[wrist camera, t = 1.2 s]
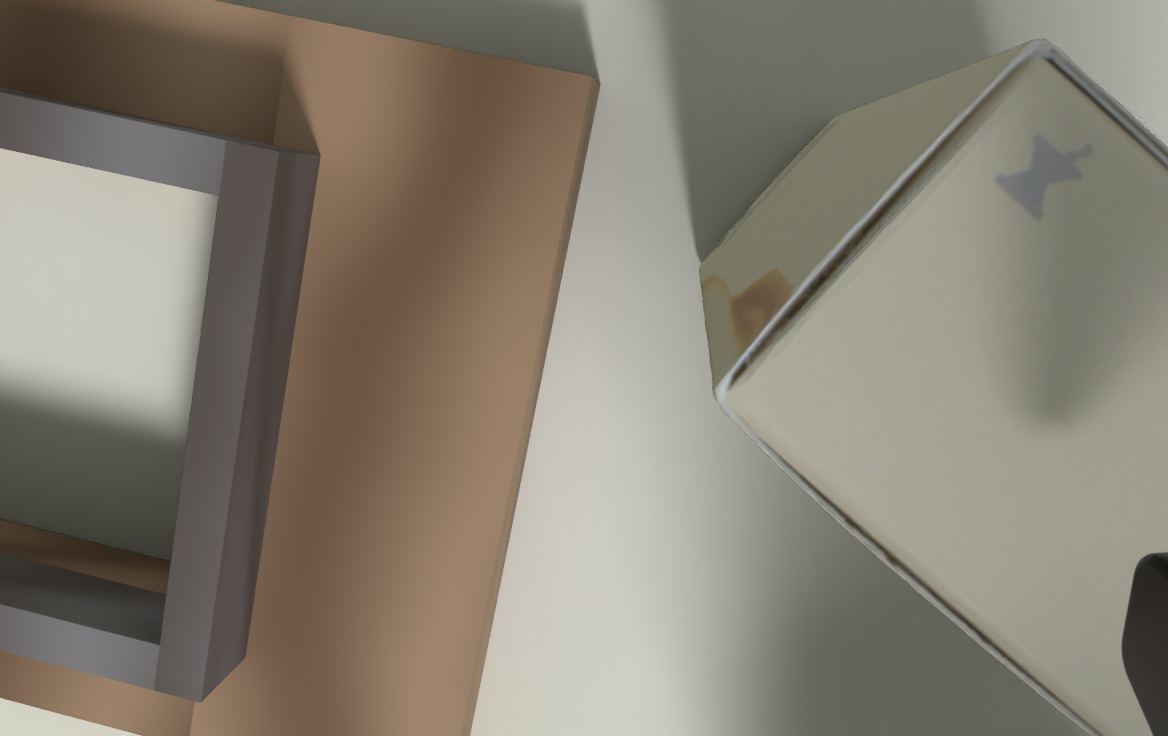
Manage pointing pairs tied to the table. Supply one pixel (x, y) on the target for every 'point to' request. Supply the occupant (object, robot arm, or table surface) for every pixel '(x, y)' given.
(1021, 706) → the table surface
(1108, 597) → the skincare box
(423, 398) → the serum stand
